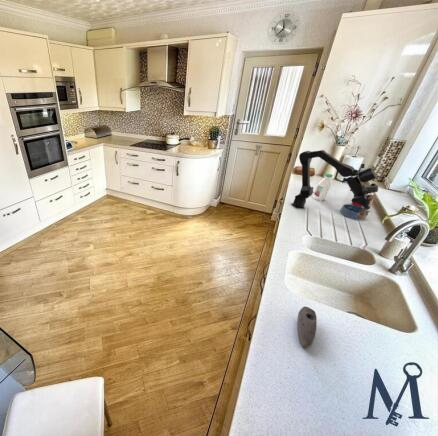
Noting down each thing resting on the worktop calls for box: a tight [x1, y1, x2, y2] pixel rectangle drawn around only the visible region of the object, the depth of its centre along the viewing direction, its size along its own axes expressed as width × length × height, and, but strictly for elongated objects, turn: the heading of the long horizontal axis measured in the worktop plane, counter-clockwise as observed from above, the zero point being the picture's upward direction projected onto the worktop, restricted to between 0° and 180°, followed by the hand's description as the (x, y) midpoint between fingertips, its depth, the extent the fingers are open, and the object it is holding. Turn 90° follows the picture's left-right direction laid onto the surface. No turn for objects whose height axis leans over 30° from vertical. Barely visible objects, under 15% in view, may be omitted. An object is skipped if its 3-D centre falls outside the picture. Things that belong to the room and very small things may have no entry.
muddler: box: [356, 196, 375, 220], centre depth 140 cm, size 4×4×13 cm
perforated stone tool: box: [296, 305, 318, 350], centre depth 79 cm, size 15×5×7 cm, turn 147°
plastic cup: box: [351, 192, 375, 207], centre depth 172 cm, size 11×11×12 cm
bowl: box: [339, 203, 370, 221], centre depth 159 cm, size 14×14×5 cm
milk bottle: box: [312, 173, 334, 202], centre depth 178 cm, size 8×8×20 cm
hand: (368, 208), depth 139 cm, fingers closed on muddler, 2 cm apart
